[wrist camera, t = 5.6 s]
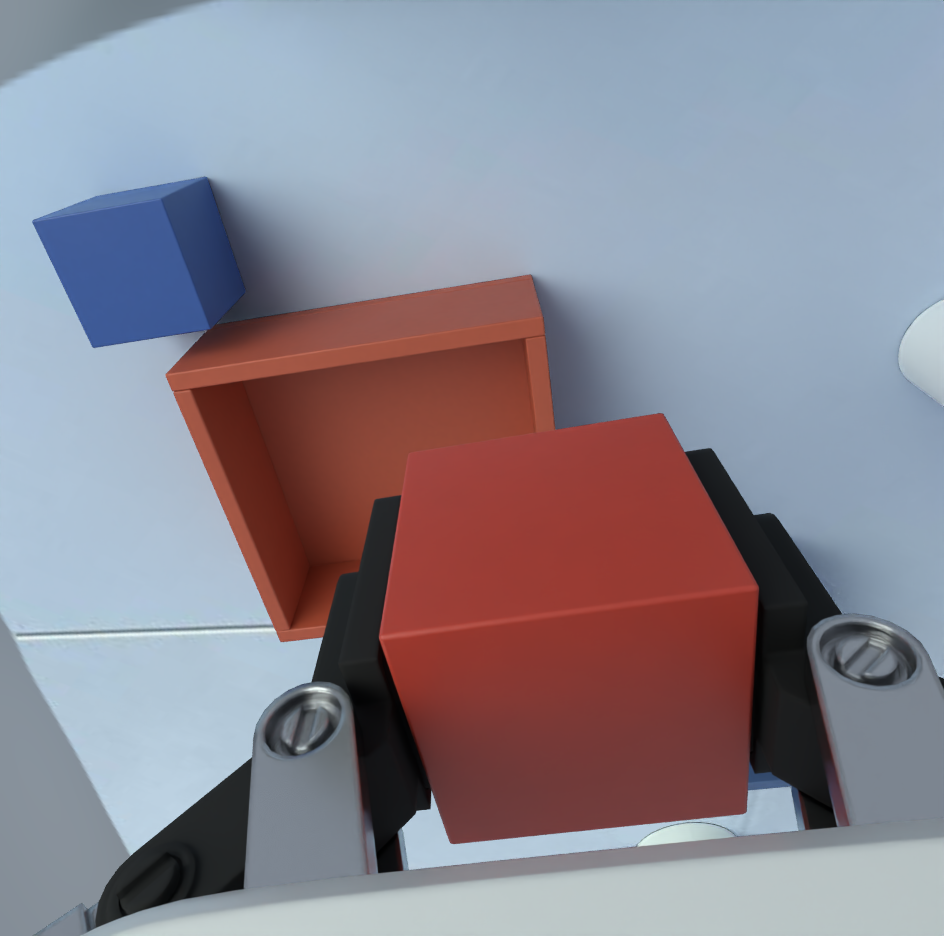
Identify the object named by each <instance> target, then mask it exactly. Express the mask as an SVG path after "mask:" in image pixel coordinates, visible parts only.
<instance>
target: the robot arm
mask: <svg viewBox="0 0 944 936" xmlns="http://www.w3.org/2000/svg"><path fill="white" fill-rule="evenodd" d="M685 454H686V456H687V457H688V459H689V461H690V463H691V465H692V466H693V468H694V470H695V472H696V474H697V476H698V477H699V479H700V481H701V483H702V485H703V486H704V488H705V490H706V492H707V494H708V496H709V497H710V499H711V501H712V503H713V505H714V506H715V508H716V510H717V512H718V514H719V515H720V517H721V519H722V521H723V523H724V525H725V526H726V528H727V530H728V532H729V534H730V535H731V537H732V539H733V541H734V543H735V545H736V546H737V548H738V550H739V552H740V554H741V555H742V557H743V559H744V561H745V563H746V565H747V566H748V568H749V570H750V572H751V574H752V575H753V577H754V579H755V581H756V583H757V584H758V586H759V597H758V615H757V633H756V651H755V669H754V688H753V706H752V724H751V742H750V760H749V761H750V764H751V766H752V769H753V771H754V774H758V773H767V772H771V773H772V775H774V776H776V777H777V778H779V779H781V780H783V781H784V782H786V783H788V784H790V785H791V786H792V797H793V802H794V808H795V814H796V819H797V825H798V831H793V832H782V833H772V834H761V835H751V836H740V837H729V838H719V839H709V840H699V841H688V842H678V843H668V844H658V845H648V846H638V847H628V848H618V849H608V850H598V851H589V852H579V853H569V854H559V855H549V856H539V857H529V858H520V859H510V860H500V861H490V862H481V863H472V864H462V865H453V866H443V867H434V868H424V869H415V870H409V868H408V862H407V855H406V848H405V841H404V835H403V830H402V827H403V826H404V825H405V824H406V823H407V822H408V821H409V820H410V819H411V818H412V817H413V816H414V815H415V814H416V811H418V810H427V809H430V807H431V787H430V784H429V781H428V778H427V775H426V772H425V770H424V767H423V764H422V761H421V758H420V755H419V752H418V749H417V746H416V744H415V741H414V738H413V735H412V732H411V729H410V726H409V723H408V721H407V718H406V715H405V712H404V709H403V706H402V703H401V700H400V697H399V695H398V692H397V689H396V686H395V683H394V680H393V677H392V674H391V671H390V669H389V666H388V663H387V660H386V657H385V654H384V651H383V648H382V646H381V643H380V640H379V634H380V628H381V621H382V615H383V609H384V603H385V596H386V590H387V584H388V577H389V571H390V565H391V559H392V552H393V546H394V540H395V534H396V527H397V521H398V515H399V508H400V502H401V496H402V495H399V496H392V497H385V498H379V499H375V501H374V503H373V508H372V512H371V517H370V522H369V526H368V531H367V535H366V540H365V544H364V549H363V553H362V558H361V562H360V567H359V571H358V572H352V573H345V574H342V575H341V576H340V577H339V579H338V582H337V585H336V589H335V593H334V597H333V601H332V605H331V609H330V612H329V616H328V620H327V624H326V628H325V632H324V636H323V640H322V644H321V648H320V651H319V655H318V659H317V663H316V667H315V671H314V675H313V679H312V682H311V683H306V684H302V685H299V686H297V687H295V688H292V689H290V690H288V691H286V692H285V693H284V694H282V695H281V696H279V697H278V698H276V699H275V700H274V701H273V702H272V703H271V704H270V705H269V706H268V707H267V708H266V709H265V710H264V712H263V714H262V715H261V717H260V719H259V721H258V722H257V724H256V729H255V733H254V737H253V752H252V758H251V759H249V760H248V761H247V762H246V763H244V764H243V765H242V766H241V767H239V768H238V769H237V770H236V771H235V772H233V773H232V774H231V775H230V776H228V777H227V778H226V779H225V780H223V781H222V782H221V783H220V784H218V785H217V786H216V787H215V788H214V789H212V790H211V791H210V792H209V793H207V794H206V795H205V796H204V797H202V798H201V799H200V800H199V801H198V802H196V803H195V804H194V805H193V806H191V807H190V808H189V809H188V810H186V811H185V812H184V813H183V814H181V815H180V816H179V817H178V818H177V819H175V820H174V821H173V822H172V823H170V824H169V825H168V826H167V827H165V828H164V829H163V830H162V831H160V832H159V833H158V834H157V835H156V836H154V837H153V838H152V839H151V840H149V841H148V842H147V843H146V844H144V845H143V846H142V847H141V848H140V849H138V850H137V851H136V852H135V853H133V854H132V855H131V856H130V857H129V858H128V859H127V860H126V861H125V862H124V863H123V864H122V865H121V866H120V867H119V868H118V869H117V871H116V872H115V874H114V875H113V876H112V878H111V879H110V881H109V882H108V884H107V885H106V887H105V889H104V892H103V894H102V896H101V899H100V900H99V902H98V903H97V904H95V905H93V906H92V907H90V908H89V909H87V908H86V907H85V906H84V904H83V903H81V904H79V905H78V906H76V907H75V908H73V909H72V910H70V911H69V912H67V913H66V914H64V915H63V916H61V917H60V918H58V919H57V920H56V921H54V922H52V923H51V924H49V925H48V926H46V927H45V928H44V929H42V930H40V931H39V932H38V933H36V934H35V935H33V936H944V679H943V678H941V677H938V675H937V673H936V670H935V668H934V666H933V664H932V661H931V659H930V657H929V654H928V653H927V651H926V650H925V648H924V647H923V645H922V644H921V642H920V641H919V640H917V639H916V638H915V637H914V636H913V635H911V634H910V633H909V632H908V631H907V630H905V629H903V628H901V627H899V626H897V625H896V624H894V623H892V622H890V621H887V620H883V619H880V618H877V617H874V616H869V615H861V614H842V613H841V612H840V610H839V609H838V607H837V606H836V604H835V603H834V601H833V600H832V598H831V597H830V595H829V594H828V592H827V591H826V589H825V588H824V586H823V585H822V583H821V582H820V580H819V579H818V578H817V576H816V575H815V573H814V572H813V570H812V569H811V567H810V566H809V564H808V563H807V561H806V560H805V558H804V557H803V555H802V554H801V552H800V551H799V549H798V548H797V546H796V545H795V543H794V542H793V540H792V539H791V537H790V536H789V534H788V533H787V531H786V530H785V529H784V527H783V526H782V524H781V523H780V521H779V520H778V519H777V517H776V516H775V515H774V514H771V513H766V514H759V515H753V514H752V512H751V510H750V509H749V507H748V506H747V504H746V502H745V501H744V499H743V498H742V496H741V494H740V493H739V491H738V490H737V488H736V486H735V485H734V483H733V481H732V480H731V478H730V477H729V475H728V473H727V472H726V470H725V469H724V467H723V465H722V464H721V462H720V461H719V459H718V457H717V456H716V454H715V453H714V451H713V450H712V449H711V448H707V449H701V450H694V451H687V452H685Z"/></svg>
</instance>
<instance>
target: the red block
mask: <svg viewBox="0 0 944 936" xmlns="http://www.w3.org/2000/svg"><path fill="white" fill-rule="evenodd" d="M758 597H759V586H758V584H757V583H756V581H755V579H754V577H753V575H752V574H751V572H750V570H749V568H748V566H747V565H746V563H745V561H744V559H743V557H742V555H741V554H740V552H739V550H738V548H737V546H736V545H735V543H734V541H733V539H732V537H731V535H730V534H729V532H728V530H727V528H726V526H725V525H724V523H723V521H722V519H721V517H720V515H719V514H718V512H717V510H716V508H715V506H714V505H713V503H712V501H711V499H710V497H709V496H708V494H707V492H706V490H705V488H704V486H703V485H702V483H701V481H700V479H699V477H698V476H697V474H696V472H695V470H694V468H693V466H692V465H691V463H690V461H689V459H688V457H687V456H686V454H685V452H684V450H683V448H682V447H681V445H680V443H679V441H678V439H677V437H676V436H675V434H674V432H673V430H672V428H671V427H670V425H669V423H668V421H667V419H666V417H665V416H664V414H662V413H658V414H651V415H645V416H639V417H632V418H626V419H620V420H613V421H607V422H601V423H594V424H588V425H582V426H576V427H569V428H563V429H557V430H550V431H544V432H538V433H531V434H525V435H519V436H512V437H506V438H500V439H493V440H487V441H481V442H474V443H468V444H462V445H455V446H449V447H443V448H436V449H430V450H424V451H417V452H411V453H409V454H408V458H407V465H406V471H405V477H404V483H403V490H402V496H401V502H400V508H399V515H398V521H397V527H396V534H395V540H394V546H393V552H392V559H391V565H390V571H389V577H388V584H387V590H386V596H385V603H384V609H383V615H382V621H381V628H380V634H379V640H380V643H381V646H382V648H383V651H384V654H385V657H386V660H387V663H388V666H389V669H390V671H391V674H392V677H393V680H394V683H395V686H396V689H397V692H398V695H399V697H400V700H401V703H402V706H403V709H404V712H405V715H406V718H407V721H408V723H409V726H410V729H411V732H412V735H413V738H414V741H415V744H416V746H417V749H418V752H419V755H420V758H421V761H422V764H423V767H424V770H425V772H426V775H427V778H428V781H429V784H430V787H431V790H432V793H433V795H434V798H435V801H436V804H437V807H438V810H439V813H440V816H441V819H442V821H443V824H444V827H445V830H446V833H447V836H448V839H449V841H450V843H451V844H460V843H470V842H479V841H489V840H499V839H508V838H518V837H527V836H537V835H547V834H556V833H566V832H576V831H585V830H595V829H605V828H614V827H624V826H634V825H643V824H653V823H662V822H672V821H682V820H691V819H701V818H711V817H720V816H730V815H740V814H744V813H746V812H747V796H748V778H749V760H750V742H751V724H752V706H753V688H754V669H755V651H756V633H757V615H758Z"/></svg>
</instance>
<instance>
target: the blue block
mask: <svg viewBox="0 0 944 936" xmlns="http://www.w3.org/2000/svg"><path fill="white" fill-rule="evenodd" d="M32 222H33V225H34V227H35V229H36V231H37V233H38V235H39V237H40V239H41V241H42V243H43V245H44V247H45V249H46V252H47V254H48V256H49V258H50V260H51V262H52V264H53V266H54V268H55V270H56V272H57V274H58V276H59V279H60V281H61V283H62V285H63V287H64V289H65V291H66V293H67V295H68V297H69V299H70V301H71V303H72V306H73V308H74V310H75V312H76V314H77V316H78V318H79V320H80V322H81V324H82V326H83V328H84V330H85V333H86V335H87V337H88V339H89V341H90V343H91V345H92V347H93V348H96V347H103V346H109V345H115V344H122V343H128V342H134V341H141V340H147V339H153V338H160V337H166V336H172V335H179V334H185V333H191V332H197V331H204V330H210V329H211V328H212V327H213V326H214V325H215V324H216V323H217V322H218V321H219V320H220V319H221V318H222V317H223V316H224V315H225V313H226V312H227V311H228V310H229V309H230V308H231V307H232V306H233V305H234V304H235V303H236V302H237V301H238V300H239V299H240V298H241V296H242V295H243V294H244V293H245V292H246V291H245V288H244V285H243V282H242V279H241V276H240V273H239V270H238V267H237V264H236V261H235V258H234V255H233V252H232V249H231V246H230V243H229V240H228V237H227V235H226V232H225V229H224V226H223V223H222V220H221V217H220V214H219V211H218V208H217V205H216V202H215V199H214V196H213V193H212V190H211V187H210V184H209V181H208V178H207V177H202V178H196V179H191V180H185V181H179V182H174V183H168V184H163V185H157V186H151V187H146V188H140V189H134V190H129V191H123V192H117V193H112V194H106V195H100V196H96V197H93V198H90V199H88V200H85V201H82V202H80V203H77V204H74V205H72V206H69V207H67V208H64V209H61V210H59V211H56V212H53V213H51V214H48V215H45V216H43V217H40V218H38V219H35V220H33V221H32Z"/></svg>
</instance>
